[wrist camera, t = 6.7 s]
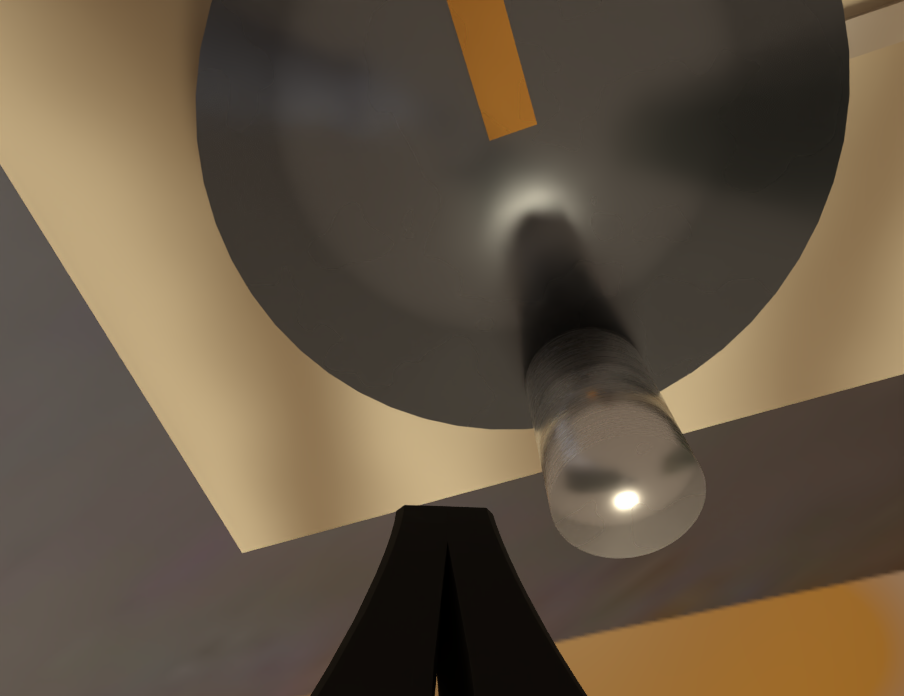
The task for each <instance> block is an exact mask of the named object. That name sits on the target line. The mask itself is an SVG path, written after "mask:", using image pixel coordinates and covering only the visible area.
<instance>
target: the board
mask: <svg viewBox="0 0 904 696" xmlns="http://www.w3.org/2000/svg"><path fill="white" fill-rule="evenodd" d="M211 2H212V0H0V165H1V166H2V168H3V169H4V171H5V173H6V174H7V176H8V177H9V179H10V181H11V182H12V184H13V185H14V187H15V189H16V190H17V192H18V193H19V195H20V197H21V198H22V200H23V201H24V203H25V205H26V206H27V208H28V209H29V211H30V213H31V214H32V216H33V218H34V219H35V221H36V222H37V224H38V226H39V227H40V229H41V230H42V232H43V234H44V235H45V237H46V238H47V240H48V242H49V243H50V245H51V246H52V248H53V250H54V251H55V253H56V254H57V256H58V258H59V259H60V261H61V263H62V264H63V266H64V267H65V269H66V271H67V272H68V274H69V275H70V277H71V279H72V280H73V282H74V283H75V285H76V287H77V288H78V290H79V291H80V293H81V295H82V296H83V298H84V299H85V301H86V303H87V304H88V306H89V307H90V309H91V311H92V312H93V314H94V316H95V317H96V319H97V320H98V322H99V324H100V325H101V327H102V328H103V330H104V332H105V333H106V335H107V336H108V338H109V340H110V341H111V343H112V344H113V346H114V348H115V349H116V351H117V352H118V354H119V356H120V357H121V359H122V360H123V362H124V364H125V365H126V367H127V369H128V370H129V372H130V373H131V375H132V377H133V378H134V380H135V381H136V383H137V385H138V386H139V388H140V389H141V391H142V393H143V394H144V396H145V397H146V399H147V401H148V402H149V404H150V405H151V407H152V409H153V410H154V412H155V414H156V415H157V417H158V418H159V420H160V422H161V423H162V425H163V426H164V428H165V430H166V431H167V433H168V434H169V436H170V438H171V439H172V441H173V442H174V444H175V446H176V447H177V449H178V450H179V452H180V454H181V455H182V457H183V458H184V460H185V462H186V463H187V465H188V467H189V468H190V470H191V471H192V473H193V475H194V476H195V478H196V479H197V481H198V483H199V484H200V486H201V487H202V489H203V491H204V492H205V494H206V495H207V497H208V499H209V500H210V502H211V503H212V505H213V507H214V508H215V510H216V512H217V513H218V515H219V516H220V518H221V520H222V521H223V523H224V524H225V526H226V528H227V529H228V531H229V532H230V534H231V536H232V537H233V539H234V540H235V542H236V544H237V545H238V547H239V548H240V550H241V552H242V553H244V552H248V551H252V550H255V549H259V548H263V547H266V546H270V545H274V544H278V543H281V542H285V541H289V540H292V539H296V538H300V537H303V536H307V535H311V534H314V533H318V532H322V531H325V530H329V529H333V528H337V527H340V526H344V525H348V524H351V523H355V522H359V521H362V520H366V519H370V518H373V517H377V516H381V515H385V514H388V513H392V512H396V511H397V510H398V509H400V508H401V507H402V506H404V505H421V504H425V503H429V502H432V501H436V500H440V499H444V498H447V497H451V496H455V495H458V494H462V493H466V492H469V491H473V490H477V489H480V488H484V487H488V486H492V485H495V484H499V483H503V482H506V481H510V480H514V479H517V478H521V477H525V476H528V475H532V474H536V473H539V472H542V467H541V462H540V458H539V453H538V448H537V443H536V438H535V434H534V429H482V428H473V427H463V426H456V425H451V424H446V423H442V422H437V421H433V420H428V419H424V418H421V417H418V416H415V415H412V414H409V413H406V412H403V411H400V410H397V409H394V408H391V407H389V406H387V405H385V404H383V403H381V402H379V401H376V400H374V399H372V398H370V397H368V396H366V395H364V394H362V393H360V392H358V391H356V390H355V389H353V388H351V387H350V386H348V385H347V384H345V383H343V382H342V381H340V380H339V379H337V378H335V377H334V376H332V375H331V374H329V373H328V372H327V371H325V370H324V369H323V368H322V367H320V366H319V365H318V364H317V363H315V362H314V361H313V360H312V359H310V358H309V357H308V356H307V355H305V354H304V353H303V352H302V351H300V350H299V349H298V348H297V347H296V345H295V344H294V343H293V342H292V341H291V340H290V339H289V338H288V337H287V336H286V335H285V334H284V333H283V332H282V331H281V330H280V329H279V328H278V327H277V326H276V325H275V324H274V323H273V321H272V320H271V319H270V318H269V316H268V315H267V314H266V312H265V311H264V310H263V308H262V307H261V306H260V304H259V303H258V302H257V301H256V299H255V298H254V297H253V295H252V294H251V292H250V291H249V289H248V287H247V286H246V284H245V282H244V281H243V279H242V277H241V275H240V274H239V272H238V270H237V269H236V267H235V265H234V264H233V262H232V260H231V258H230V256H229V253H228V251H227V249H226V246H225V244H224V242H223V239H222V237H221V235H220V232H219V230H218V228H217V226H216V223H215V220H214V217H213V213H212V210H211V206H210V203H209V199H208V196H207V193H206V189H205V186H204V182H203V175H202V169H201V163H200V157H199V150H198V144H197V127H196V86H197V76H198V66H199V56H200V48H201V44H202V40H203V35H204V31H205V27H206V22H207V18H208V14H209V10H210V5H211ZM842 3H843V8H844V15H845V23H846V30H847V37H848V44H849V70H850V97H849V105H848V113H847V122H846V130H845V138H844V143H843V147H842V151H841V155H840V159H839V163H838V167H837V171H836V175H835V179H834V183H833V185H832V188H831V191H830V193H829V196H828V198H827V201H826V204H825V206H824V209H823V212H822V214H821V217H820V219H819V222H818V224H817V226H816V228H815V230H814V232H813V234H812V235H811V237H810V239H809V241H808V243H807V245H806V247H805V249H804V251H803V253H802V255H801V257H800V259H799V260H798V262H797V263H796V265H795V266H794V267H793V269H792V270H791V272H790V273H789V275H788V276H787V278H786V279H785V281H784V282H783V284H782V285H781V287H780V288H779V290H778V291H777V293H776V294H775V295H774V296H773V297H772V298H771V300H770V301H769V302H768V303H767V304H766V306H765V307H764V308H763V309H762V310H761V311H760V313H759V314H758V315H757V316H756V317H755V319H754V320H753V321H752V322H751V323H750V324H749V325H748V326H747V327H746V328H745V329H744V330H743V331H742V332H741V333H739V334H738V335H737V336H736V337H735V338H734V339H733V340H732V341H731V342H730V343H729V344H728V345H727V346H726V347H725V348H724V349H722V350H721V351H720V352H718V353H717V354H716V355H715V356H713V357H712V358H711V359H709V360H708V361H707V362H705V363H704V364H703V365H701V366H700V367H699V368H697V369H696V370H695V371H693V372H692V373H690V374H689V375H687V376H685V377H684V378H682V379H680V380H679V381H677V382H675V383H674V384H672V385H670V386H669V387H667V388H665V389H664V390H662V391H660V393H661V395H662V397H663V399H664V401H665V402H666V404H667V406H668V408H669V410H670V412H671V413H672V415H673V417H674V419H675V421H676V423H677V425H678V426H679V428H680V430H681V432H682V434H683V433H687V432H691V431H694V430H698V429H702V428H706V427H709V426H713V425H717V424H720V423H724V422H728V421H731V420H735V419H739V418H742V417H746V416H750V415H754V414H757V413H761V412H765V411H768V410H772V409H776V408H779V407H783V406H787V405H790V404H794V403H798V402H801V401H805V400H809V399H813V398H816V397H820V396H824V395H827V394H831V393H835V392H838V391H842V390H846V389H849V388H853V387H857V386H861V385H864V384H868V383H872V382H875V381H879V380H883V379H886V378H890V377H894V376H897V375H901V374H904V0H842Z"/></svg>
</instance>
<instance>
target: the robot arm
mask: <svg viewBox="0 0 904 696" xmlns="http://www.w3.org/2000/svg"><path fill="white" fill-rule="evenodd" d="M436 677H437V681H438V692H439V696H587V695H586V693H585V692H584V690H583V689H582V687H581V686H580V684H579V682H578V681H577V679H576V678H575V676H574V675H573V673H572V671H571V670H570V668H569V666H568V665H567V663H566V662H565V660H564V658H563V657H562V655H561V654H560V652H559V650H558V649H557V647H556V645H555V644H554V642H553V640H552V638H551V637H550V635H549V633H548V632H547V630H546V628H545V626H544V624H543V622H542V621H541V619H540V617H539V615H538V613H537V611H536V610H535V608H534V606H533V604H532V602H531V600H530V598H529V597H528V595H527V593H526V591H525V589H524V587H523V585H522V583H521V581H520V579H519V577H518V575H517V573H516V570H515V568H514V566H513V564H512V562H511V560H510V558H509V555H508V553H507V551H506V548H505V546H504V544H503V541H502V539H501V536H500V534H499V531H498V528H497V526H496V523H495V520H494V516H493V514H492V513H491V512H490V511H489V510H488V509H487V508H474V507H448V506H421V505H404V506H402V507H401V508H400V509H398V510H397V511H396V517H395V522H394V526H393V529H392V533H391V536H390V539H389V542H388V545H387V548H386V550H385V553H384V556H383V558H382V561H381V563H380V565H379V568H378V570H377V573H376V575H375V577H374V579H373V582H372V584H371V586H370V588H369V590H368V592H367V594H366V596H365V598H364V601H363V603H362V605H361V607H360V609H359V611H358V613H357V615H356V617H355V619H354V621H353V623H352V625H351V627H350V628H349V630H348V632H347V634H346V636H345V637H344V639H343V641H342V643H341V644H340V646H339V648H338V650H337V652H336V653H335V655H334V657H333V659H332V661H331V662H330V664H329V666H328V668H327V669H326V671H325V673H324V674H323V676H322V678H321V679H320V681H319V683H318V684H317V686H316V688H315V689H314V691H313V692H312V694H311V696H435V687H436Z"/></svg>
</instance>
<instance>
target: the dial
mask: <svg viewBox="0 0 904 696" xmlns="http://www.w3.org/2000/svg"><path fill="white" fill-rule="evenodd" d="M849 97H850V70H849V44H848V37H847V30H846V23H845V15H844V8H843V3H842V0H212V2H211V5H210V10H209V14H208V18H207V22H206V27H205V31H204V35H203V40H202V44H201V48H200V56H199V66H198V76H197V86H196V127H197V144H198V150H199V157H200V163H201V169H202V175H203V182H204V186H205V189H206V193H207V196H208V199H209V203H210V206H211V210H212V213H213V217H214V220H215V223H216V226H217V228H218V230H219V232H220V235H221V237H222V239H223V242H224V244H225V246H226V249H227V251H228V253H229V256H230V258H231V260H232V262H233V264H234V265H235V267H236V269H237V270H238V272H239V274H240V275H241V277H242V279H243V281H244V282H245V284H246V286H247V287H248V289H249V291H250V292H251V294H252V295H253V297H254V298H255V299H256V301H257V302H258V303H259V304H260V306H261V307H262V308H263V310H264V311H265V312H266V314H267V315H268V316H269V318H270V319H271V320H272V321H273V323H274V324H275V325H276V326H277V327H278V328H279V329H280V330H281V331H282V332H283V333H284V334H285V335H286V336H287V337H288V338H289V339H290V340H291V341H292V342H293V343H294V344H295V345H296V347H297V348H298V349H299V350H300V351H302V352H303V353H304V354H305V355H307V356H308V357H309V358H310V359H312V360H313V361H314V362H315V363H317V364H318V365H319V366H320V367H322V368H323V369H324V370H325V371H327V372H328V373H329V374H331V375H332V376H334V377H335V378H337V379H339V380H340V381H342V382H343V383H345V384H347V385H348V386H350V387H351V388H353V389H355V390H356V391H358V392H360V393H362V394H364V395H366V396H368V397H370V398H372V399H374V400H376V401H379V402H381V403H383V404H385V405H387V406H389V407H391V408H394V409H397V410H400V411H403V412H406V413H409V414H412V415H415V416H418V417H421V418H424V419H428V420H433V421H437V422H442V423H446V424H451V425H456V426H463V427H473V428H482V429H534V434H535V438H536V443H537V448H538V453H539V458H540V462H541V467H542V472H543V477H544V482H545V487H546V491H547V496H548V501H549V506H550V511H551V515H552V519H553V521H554V524H555V526H556V528H557V529H558V531H559V532H560V534H561V535H562V536H563V537H564V538H565V539H566V540H567V541H568V542H569V543H571V544H572V545H573V546H575V547H577V548H578V549H580V550H582V551H585V552H587V553H590V554H593V555H596V556H601V557H607V558H630V557H637V556H641V555H645V554H649V553H652V552H655V551H657V550H659V549H662V548H664V547H666V546H667V545H669V544H671V543H672V542H674V541H675V540H677V539H678V538H680V537H681V536H682V535H683V534H684V533H685V532H686V531H687V530H688V529H689V528H690V527H691V526H692V525H693V523H694V522H695V521H696V519H697V518H698V516H699V514H700V512H701V510H702V507H703V505H704V501H705V496H706V483H705V478H704V474H703V471H702V469H701V467H700V465H699V464H698V462H697V460H696V458H695V456H694V454H693V452H692V451H691V449H690V447H689V445H688V443H687V441H686V439H685V438H684V436H683V434H682V432H681V430H680V428H679V426H678V425H677V423H676V421H675V419H674V417H673V415H672V413H671V412H670V410H669V408H668V406H667V404H666V402H665V401H664V399H663V397H662V395H661V393H660V391H662V390H664V389H665V388H667V387H669V386H670V385H672V384H674V383H675V382H677V381H679V380H680V379H682V378H684V377H685V376H687V375H689V374H690V373H692V372H693V371H695V370H696V369H697V368H699V367H700V366H701V365H703V364H704V363H705V362H707V361H708V360H709V359H711V358H712V357H713V356H715V355H716V354H717V353H718V352H720V351H721V350H722V349H724V348H725V347H726V346H727V345H728V344H729V343H730V342H731V341H732V340H733V339H734V338H735V337H736V336H737V335H738V334H739V333H741V332H742V331H743V330H744V329H745V328H746V327H747V326H748V325H749V324H750V323H751V322H752V321H753V320H754V319H755V317H756V316H757V315H758V314H759V313H760V311H761V310H762V309H763V308H764V307H765V306H766V304H767V303H768V302H769V301H770V300H771V298H772V297H773V296H774V295H775V294H776V293H777V291H778V290H779V288H780V287H781V285H782V284H783V282H784V281H785V279H786V278H787V276H788V275H789V273H790V272H791V270H792V269H793V267H794V266H795V265H796V263H797V262H798V260H799V259H800V257H801V255H802V253H803V251H804V249H805V247H806V245H807V243H808V241H809V239H810V237H811V235H812V234H813V232H814V230H815V228H816V226H817V224H818V222H819V219H820V217H821V214H822V212H823V209H824V206H825V204H826V201H827V198H828V196H829V193H830V191H831V188H832V185H833V183H834V179H835V175H836V171H837V167H838V163H839V159H840V155H841V151H842V147H843V143H844V138H845V130H846V122H847V113H848V105H849Z"/></svg>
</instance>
